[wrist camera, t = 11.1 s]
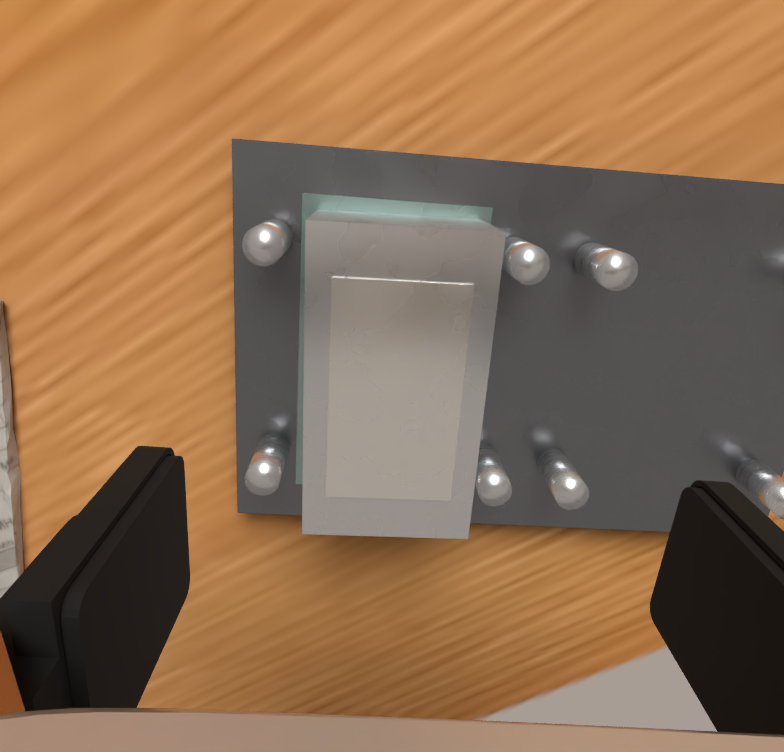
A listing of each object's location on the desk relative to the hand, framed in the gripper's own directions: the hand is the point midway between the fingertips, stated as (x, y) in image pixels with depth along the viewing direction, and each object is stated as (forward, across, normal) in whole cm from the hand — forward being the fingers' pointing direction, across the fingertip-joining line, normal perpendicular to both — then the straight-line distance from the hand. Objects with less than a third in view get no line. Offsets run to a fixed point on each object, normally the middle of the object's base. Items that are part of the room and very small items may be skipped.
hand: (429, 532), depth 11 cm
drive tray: (+13, -5, 0) cm, 14 cm away
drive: (+11, +1, 0) cm, 11 cm away
